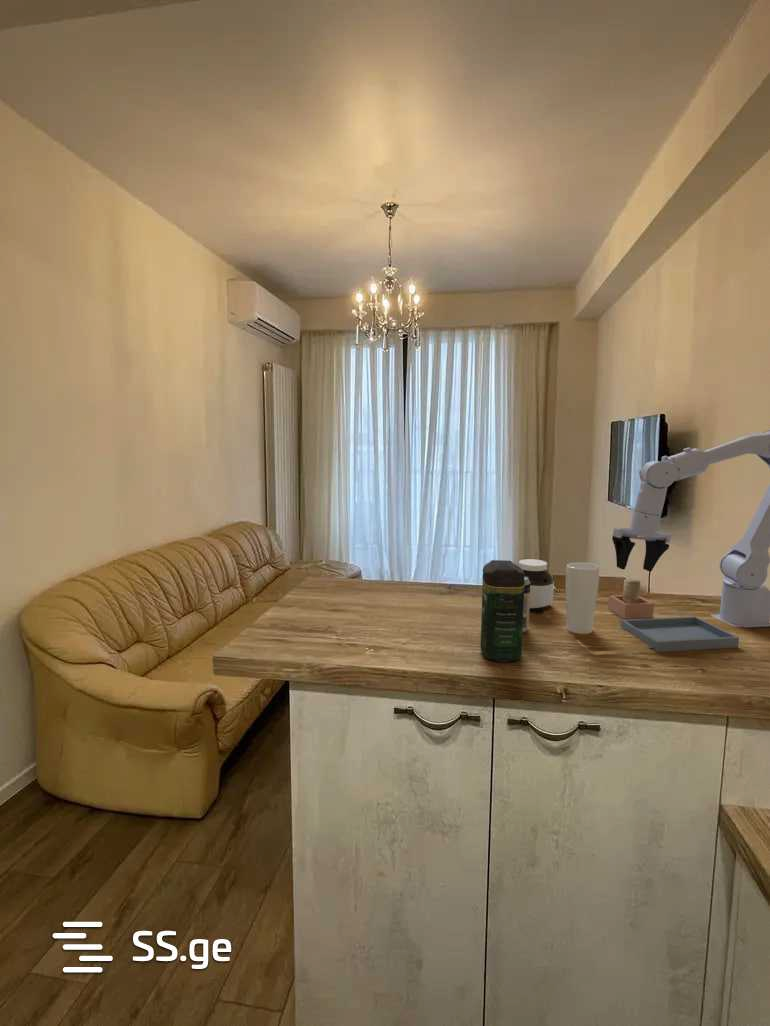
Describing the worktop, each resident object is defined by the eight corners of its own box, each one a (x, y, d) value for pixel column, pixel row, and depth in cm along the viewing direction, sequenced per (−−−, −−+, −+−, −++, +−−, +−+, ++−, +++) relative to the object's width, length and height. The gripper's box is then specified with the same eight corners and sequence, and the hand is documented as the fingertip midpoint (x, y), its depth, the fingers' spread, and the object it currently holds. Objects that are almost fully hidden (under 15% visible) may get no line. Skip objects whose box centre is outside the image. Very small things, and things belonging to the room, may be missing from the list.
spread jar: (556, 608, 137) (559, 562, 135) (536, 620, 129) (538, 571, 127) (513, 598, 145) (515, 555, 143) (491, 609, 137) (492, 563, 135)
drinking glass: (598, 638, 117) (602, 570, 115) (565, 636, 118) (568, 568, 116) (592, 627, 124) (596, 562, 121) (561, 625, 125) (564, 561, 123)
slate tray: (694, 625, 125) (695, 616, 125) (738, 647, 112) (739, 637, 112) (620, 628, 123) (621, 619, 122) (656, 652, 110) (656, 642, 110)
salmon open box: (635, 610, 135) (636, 594, 135) (652, 619, 128) (653, 603, 128) (608, 611, 134) (609, 595, 134) (624, 621, 127) (625, 604, 127)
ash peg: (632, 610, 133) (634, 578, 132) (641, 615, 130) (643, 582, 129) (619, 611, 133) (621, 579, 132) (627, 615, 129) (629, 583, 128)
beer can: (530, 628, 123) (532, 576, 122) (526, 635, 119) (528, 581, 117) (509, 624, 125) (510, 573, 124) (504, 631, 121) (506, 579, 119)
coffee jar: (525, 664, 104) (529, 569, 102) (483, 663, 105) (485, 568, 102) (516, 644, 114) (519, 557, 111) (478, 643, 115) (480, 556, 112)
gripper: (660, 512, 132) (647, 566, 135) (609, 506, 128) (597, 562, 131) (682, 518, 126) (668, 575, 128) (630, 512, 122) (616, 571, 124)
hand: (634, 569), depth 129 cm, fingers open, 7 cm apart
